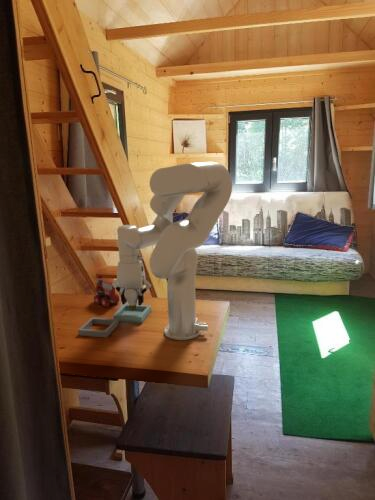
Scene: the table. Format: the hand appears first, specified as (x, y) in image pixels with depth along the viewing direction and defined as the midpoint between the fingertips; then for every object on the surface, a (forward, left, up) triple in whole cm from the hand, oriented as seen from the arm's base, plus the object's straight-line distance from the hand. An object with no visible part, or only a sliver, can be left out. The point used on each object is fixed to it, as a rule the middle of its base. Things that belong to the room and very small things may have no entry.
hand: (132, 303), depth 144 cm
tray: (0, 0, -5) cm, 5 cm away
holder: (+8, +13, -5) cm, 16 cm away
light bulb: (0, 0, -3) cm, 3 cm away
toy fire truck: (+16, -11, -6) cm, 20 cm away
